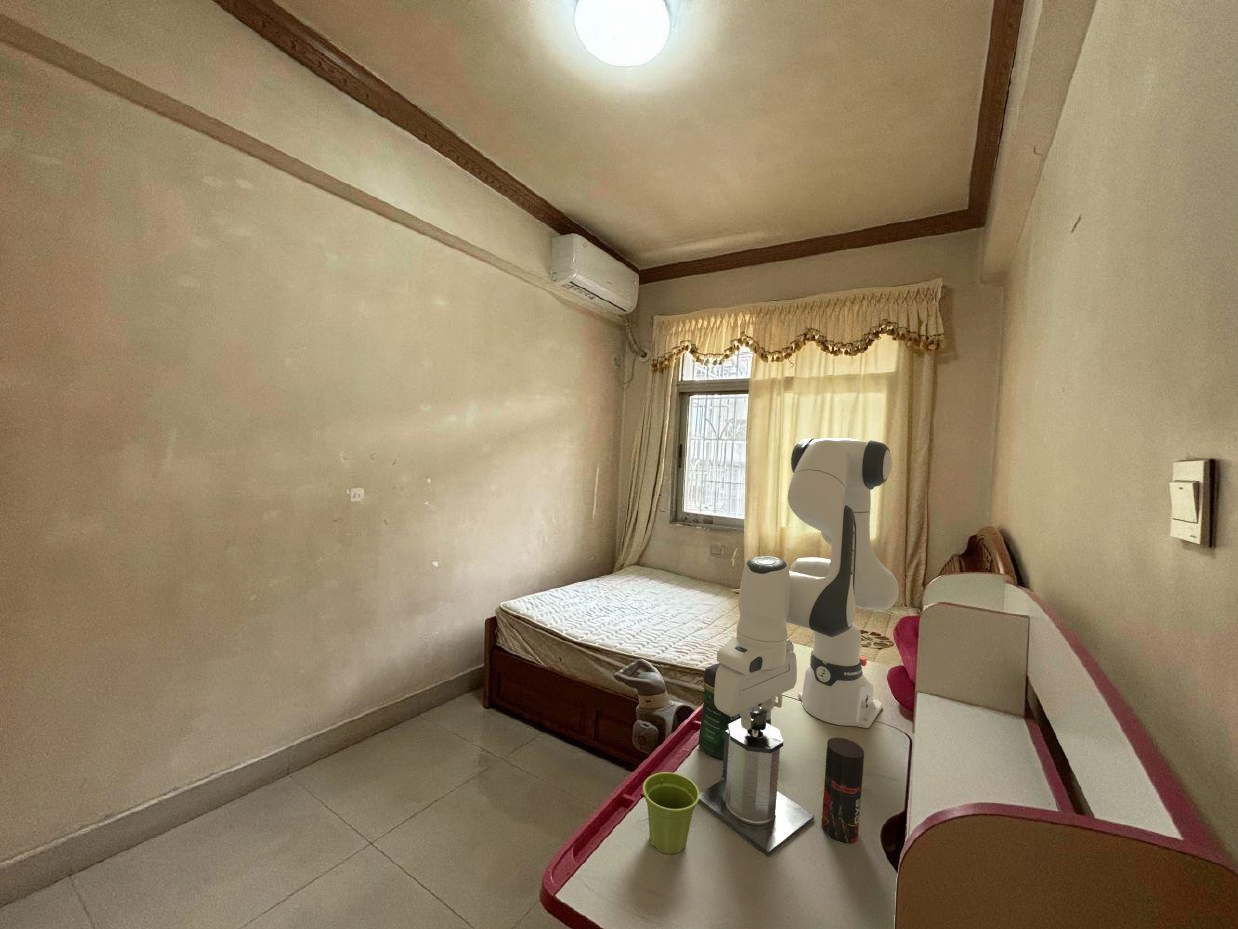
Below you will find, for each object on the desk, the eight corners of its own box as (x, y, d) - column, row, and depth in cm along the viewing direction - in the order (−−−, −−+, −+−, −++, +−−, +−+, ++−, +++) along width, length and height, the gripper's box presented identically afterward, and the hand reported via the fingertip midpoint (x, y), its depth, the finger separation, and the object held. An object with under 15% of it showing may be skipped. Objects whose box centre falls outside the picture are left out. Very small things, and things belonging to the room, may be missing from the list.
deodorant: (855, 849, 84) (862, 762, 84) (818, 833, 88) (824, 749, 87) (860, 827, 89) (866, 745, 89) (824, 813, 93) (830, 733, 92)
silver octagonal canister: (741, 772, 103) (746, 701, 103) (813, 820, 91) (819, 740, 90) (695, 799, 94) (699, 722, 94) (768, 856, 82) (774, 768, 81)
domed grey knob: (749, 776, 94) (754, 704, 94) (765, 787, 91) (770, 713, 91) (737, 783, 92) (742, 710, 91) (753, 795, 89) (758, 719, 89)
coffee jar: (721, 765, 105) (727, 678, 104) (692, 746, 111) (697, 664, 110) (748, 748, 112) (753, 666, 111) (719, 732, 117) (724, 653, 117)
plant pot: (639, 817, 89) (642, 769, 89) (693, 821, 89) (696, 773, 88) (640, 860, 80) (643, 807, 79) (699, 865, 79) (702, 812, 79)
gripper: (778, 631, 100) (774, 699, 100) (710, 654, 87) (705, 732, 87) (807, 642, 95) (802, 714, 95) (740, 668, 82) (734, 751, 82)
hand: (755, 723), depth 91 cm, fingers closed on domed grey knob, 4 cm apart
